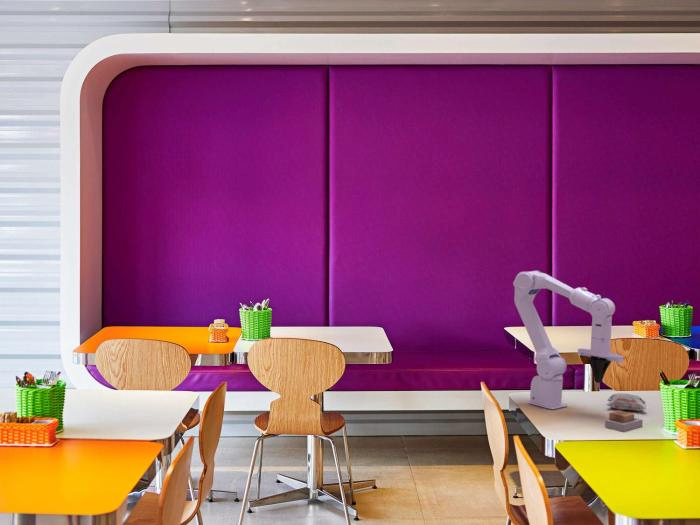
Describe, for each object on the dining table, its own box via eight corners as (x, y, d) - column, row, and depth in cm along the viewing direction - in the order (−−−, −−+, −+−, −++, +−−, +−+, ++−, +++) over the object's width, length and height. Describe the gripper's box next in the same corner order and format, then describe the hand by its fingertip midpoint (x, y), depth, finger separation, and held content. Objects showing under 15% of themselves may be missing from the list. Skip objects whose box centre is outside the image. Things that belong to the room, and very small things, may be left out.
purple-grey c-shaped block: (604, 426, 223) (605, 420, 223) (623, 421, 230) (624, 415, 230) (623, 431, 218) (623, 425, 218) (642, 426, 225) (642, 419, 225)
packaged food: (645, 415, 239) (646, 399, 238) (605, 410, 243) (606, 395, 243) (645, 409, 247) (646, 394, 246) (606, 404, 251) (607, 390, 251)
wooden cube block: (608, 425, 225) (609, 412, 225) (617, 423, 228) (618, 410, 228) (624, 430, 221) (625, 416, 221) (633, 427, 224) (634, 414, 224)
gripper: (629, 340, 231) (627, 384, 232) (587, 333, 242) (585, 376, 243) (616, 342, 227) (614, 387, 228) (574, 335, 238) (572, 378, 239)
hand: (598, 381), depth 235 cm, fingers closed
